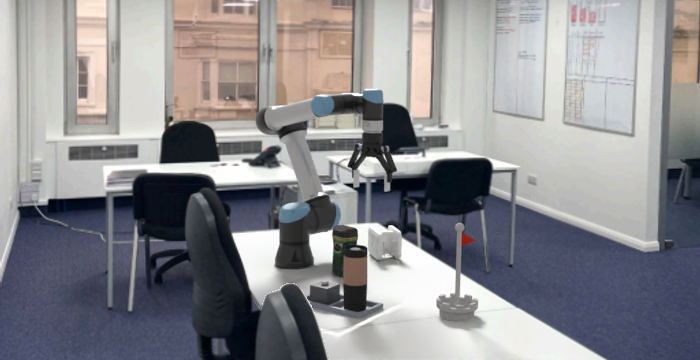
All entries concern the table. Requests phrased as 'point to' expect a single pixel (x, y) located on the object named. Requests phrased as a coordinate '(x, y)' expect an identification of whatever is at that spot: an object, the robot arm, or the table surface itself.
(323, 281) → the seated block
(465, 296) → the flag stand
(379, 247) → the cable organizer
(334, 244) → the coffee jar
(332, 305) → the dock
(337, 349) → the table surface
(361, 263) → the travel mug
